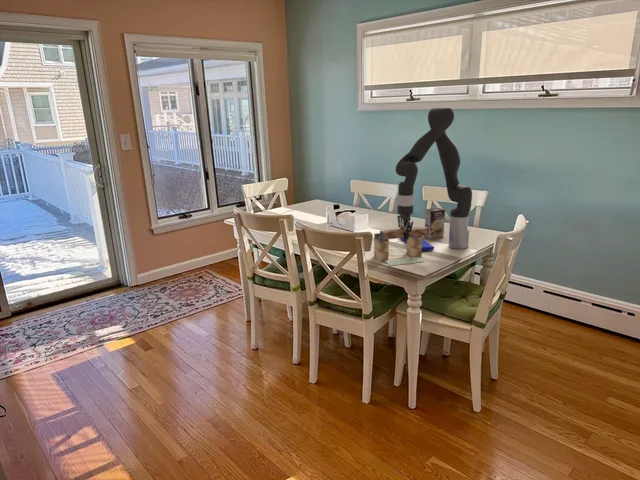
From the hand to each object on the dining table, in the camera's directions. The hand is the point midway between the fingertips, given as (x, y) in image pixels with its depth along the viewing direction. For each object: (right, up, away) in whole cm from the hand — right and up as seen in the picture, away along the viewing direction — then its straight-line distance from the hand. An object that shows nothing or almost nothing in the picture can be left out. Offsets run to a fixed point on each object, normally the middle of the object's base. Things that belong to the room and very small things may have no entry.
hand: (404, 238), depth 216 cm
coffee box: (+25, +1, +41) cm, 48 cm away
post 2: (+7, -8, +13) cm, 17 cm away
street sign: (+11, -2, +34) cm, 36 cm away
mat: (+1, -12, +4) cm, 12 cm away
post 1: (-10, -10, +9) cm, 17 cm away
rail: (0, +1, 0) cm, 1 cm away
